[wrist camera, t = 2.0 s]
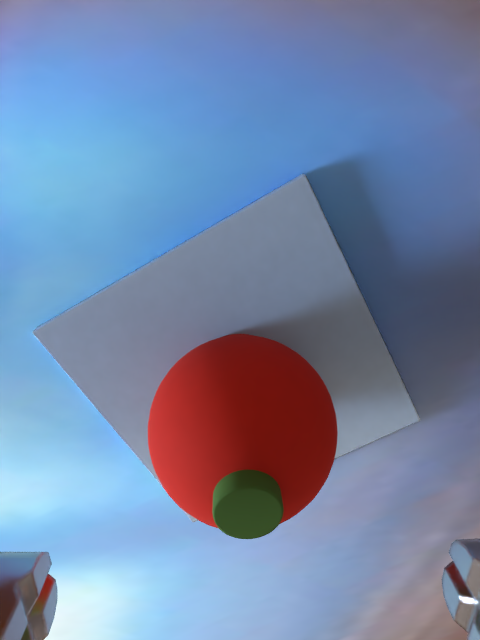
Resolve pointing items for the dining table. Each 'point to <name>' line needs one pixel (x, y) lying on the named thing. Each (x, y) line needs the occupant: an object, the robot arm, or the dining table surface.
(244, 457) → the tomato
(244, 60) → the dining table surface
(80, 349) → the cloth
